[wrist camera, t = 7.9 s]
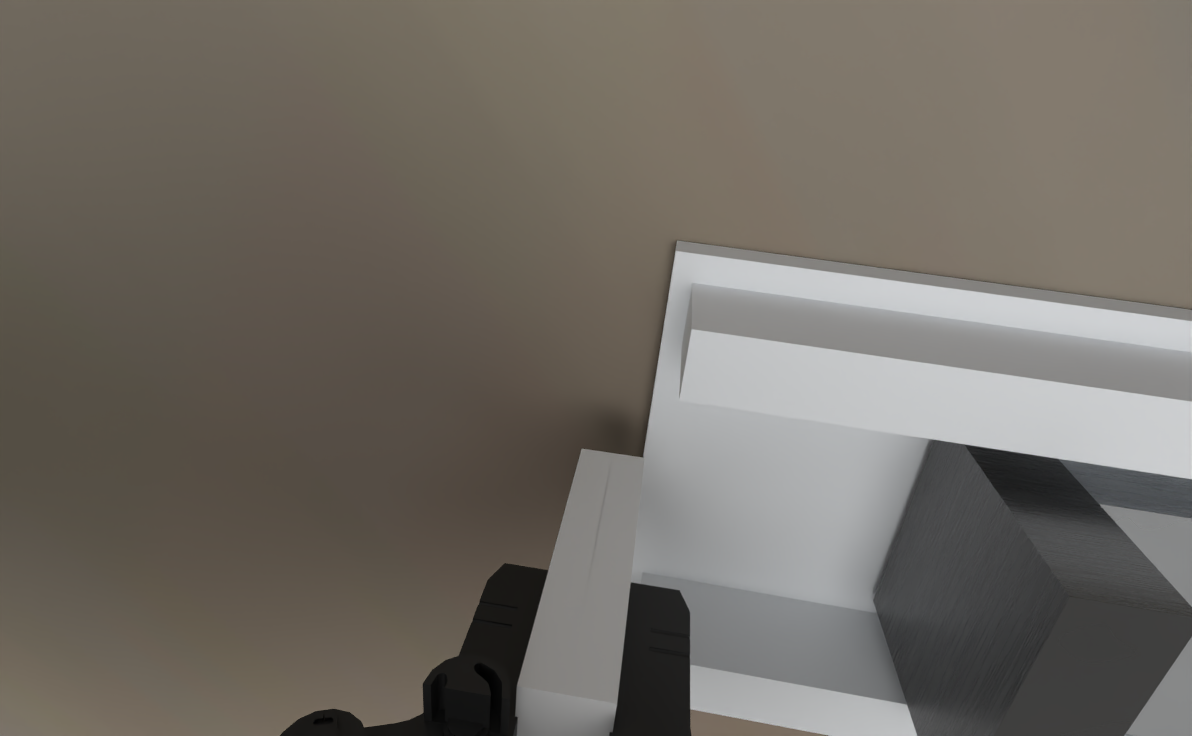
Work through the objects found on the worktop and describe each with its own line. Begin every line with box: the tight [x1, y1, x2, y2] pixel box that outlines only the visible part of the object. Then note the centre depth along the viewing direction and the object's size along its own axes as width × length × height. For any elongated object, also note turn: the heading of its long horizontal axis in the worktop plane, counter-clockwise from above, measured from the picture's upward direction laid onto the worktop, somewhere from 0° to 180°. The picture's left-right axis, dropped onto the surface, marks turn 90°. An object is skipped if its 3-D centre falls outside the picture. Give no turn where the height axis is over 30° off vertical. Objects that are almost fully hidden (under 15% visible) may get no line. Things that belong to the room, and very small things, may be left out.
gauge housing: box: [631, 240, 1192, 736], centre depth 15 cm, size 24×12×7 cm, turn 84°
